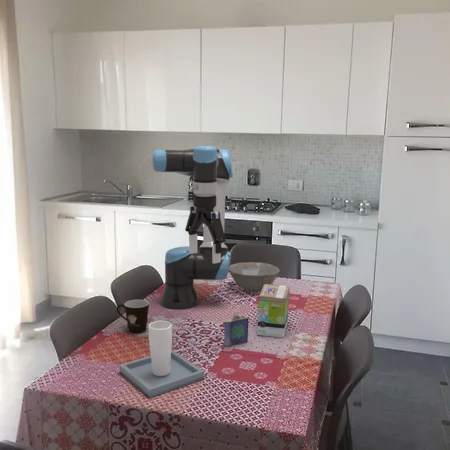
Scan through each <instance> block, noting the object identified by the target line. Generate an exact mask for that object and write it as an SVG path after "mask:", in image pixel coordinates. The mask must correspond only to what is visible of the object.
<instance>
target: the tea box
mask: <svg viewBox="0 0 450 450" xmlns="http://www.w3.org/2000/svg"><path fill="white" fill-rule="evenodd" d="M290 289H291V288H290V286H289V285H281V284H271V285H269V284H264V286H263V288H262V290H261V291H260V293H259V295H258V309H257V310H258V311H257V328H256V335H257V336H264V337H272V338H273V337H274V338H275V337H276V338H285V335H286V331H287V327H288V321H289V309H290V307H289V306H290Z"/></svg>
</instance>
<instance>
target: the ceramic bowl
mask: <svg viewBox="0 0 450 450" xmlns="http://www.w3.org/2000/svg"><path fill="white" fill-rule="evenodd" d="M228 273H229V274H230V276H231V277H232V279H233V280H234V283H235V284H236V285H237V286H238V288H240V289H242V290H244V291H247V292H253V293H254V292H255V293H256V292H261V290H262V288H263V286H264V284H269V285H273V283H274V282H275V280H276V279H277V277H278V276H279V274H280V269H279V267H278V266H275V265H273V264H270V263H266V262H254V261H252V262H251V261H249V262H238V263H237V262H236V263H234V264H233V263H232V264H231V265H230V264H229V270H228Z"/></svg>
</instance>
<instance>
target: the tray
mask: <svg viewBox="0 0 450 450" xmlns="http://www.w3.org/2000/svg"><path fill="white" fill-rule="evenodd" d="M119 373H120V374H121V375H122V376H123V377H124V378H126V379H127V380H128V381H129V382H130V383H131V384H133V385H134V386H135V387H136V389H138V390H139V391H140V392H142V393H143V394H144V395H145V396H147V398H149V399H152V398H155V397H156V396H160V395H163V394H165V393H168V392H171V391H174V390H177V389H180V388H183V387H185V386H188V385H191V384H194V383H196V382H199V381H203V380H205V370H203V369H202V368H201V367H199V366H198V365H196V364H194V363H193V362H191V361H189V360H188V359H187V358H186V357H184V356H182V355H180V354H179V353H178V352H177V351H175V350H173V349H171V362H170V373H169V374H168V375H166V376H155V375H154V374H153V373H152V363H151V355H148V356H145V357H142V358H138V359H135V360H132V361H131V360H130V361H129V362H126V363H125V362H124V363H121V364H119Z"/></svg>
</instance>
